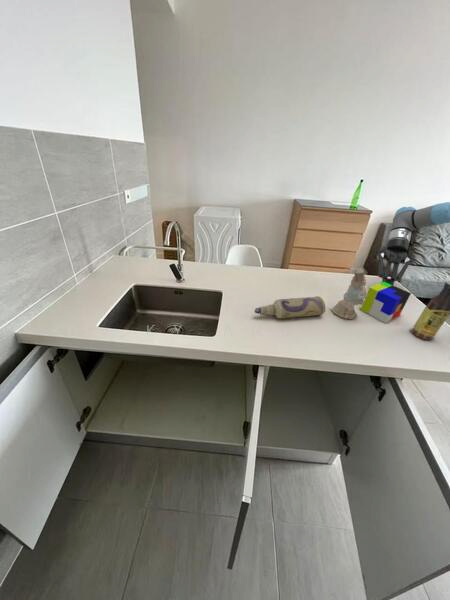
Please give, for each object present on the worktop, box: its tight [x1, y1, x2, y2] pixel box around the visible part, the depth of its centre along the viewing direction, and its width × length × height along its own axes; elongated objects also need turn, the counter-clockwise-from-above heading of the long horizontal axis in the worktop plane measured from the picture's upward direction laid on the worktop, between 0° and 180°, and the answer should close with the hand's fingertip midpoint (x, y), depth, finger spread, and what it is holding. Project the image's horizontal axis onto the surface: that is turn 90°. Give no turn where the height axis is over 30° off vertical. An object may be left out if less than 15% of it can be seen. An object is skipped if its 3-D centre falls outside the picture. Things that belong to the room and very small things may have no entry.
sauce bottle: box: [411, 281, 450, 341], centre depth 79 cm, size 6×6×20 cm
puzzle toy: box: [360, 281, 412, 324], centre depth 92 cm, size 10×10×10 cm
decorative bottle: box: [254, 295, 326, 319], centre depth 88 cm, size 26×8×7 cm, turn 101°
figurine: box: [331, 267, 368, 320], centre depth 87 cm, size 9×8×20 cm
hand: (384, 294), depth 97 cm, fingers closed
